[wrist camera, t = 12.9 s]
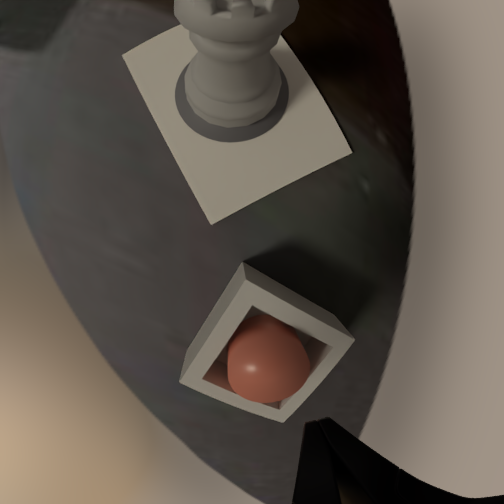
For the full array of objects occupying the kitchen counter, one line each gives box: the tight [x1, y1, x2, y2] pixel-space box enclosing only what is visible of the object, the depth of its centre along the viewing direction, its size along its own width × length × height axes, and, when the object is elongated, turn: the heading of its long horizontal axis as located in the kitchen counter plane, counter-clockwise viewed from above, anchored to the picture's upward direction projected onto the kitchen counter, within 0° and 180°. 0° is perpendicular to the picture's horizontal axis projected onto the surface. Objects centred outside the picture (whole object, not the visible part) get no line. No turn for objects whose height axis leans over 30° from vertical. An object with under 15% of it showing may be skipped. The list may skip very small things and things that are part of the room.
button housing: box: [179, 262, 355, 423], centre depth 13 cm, size 6×6×3 cm
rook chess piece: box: [174, 0, 299, 128], centre depth 8 cm, size 4×4×8 cm
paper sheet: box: [122, 24, 352, 225], centre depth 12 cm, size 11×8×1 cm
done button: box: [228, 315, 310, 403], centre depth 12 cm, size 4×4×2 cm
